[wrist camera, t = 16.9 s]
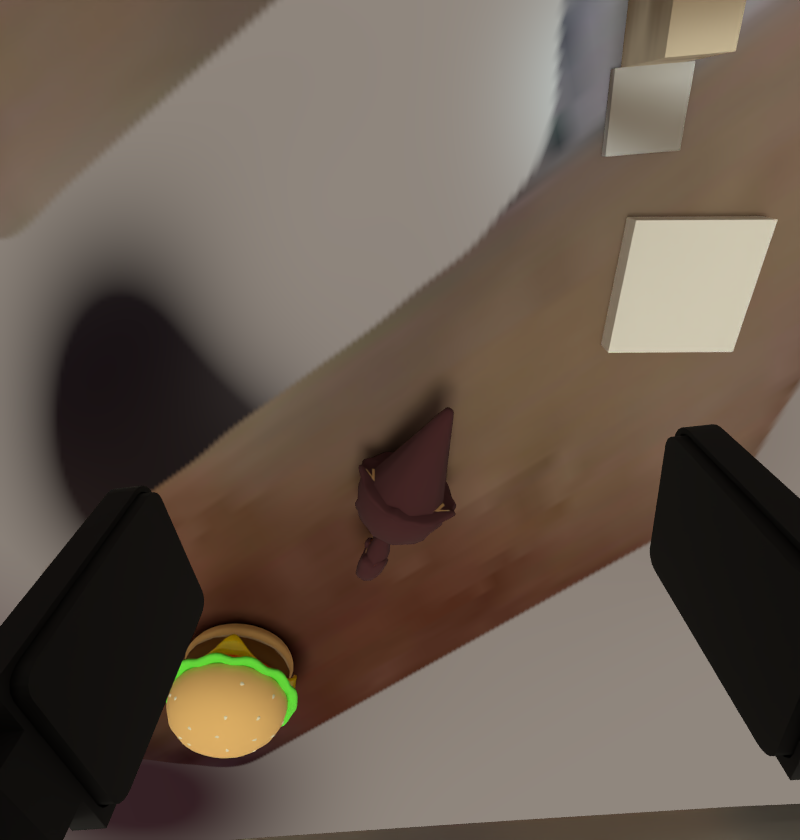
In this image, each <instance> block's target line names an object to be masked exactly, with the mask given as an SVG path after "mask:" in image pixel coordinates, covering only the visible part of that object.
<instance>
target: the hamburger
mask: <svg viewBox="0 0 800 840" xmlns="http://www.w3.org/2000/svg"><path fill="white" fill-rule="evenodd" d="M292 673H293V659H292V655H291V653H290V651H289V649H288V647H287V646H286V644H285V643H284V642H283V641H282V640H281V639H280V638H279V637H277V636H276V635H274V634H273V633H271V632H270V631H267V630H265V629H263V628H260V627H256V626H253V625H247V624H237V623H235V624H224V625H219V626H215V627H212V628H210V629H208V630H206V631H204V632H202V633H201V634H200V635H198V636H197V637H196V638H195V639H194V640H193V641H192V642H191V643H190V645H189V647H188V649H187V651H186V654H185V660H183V661H182V663H181V666H180V668H179V670H178V673H177V675H176V678H175V680H174V683H173V685H172V688H171V690H170V693H169V695H168V698H167V700H166V703H167V705H166V708H167V715H168V722H169V725H170V728H171V730H172V731H173V732H174V733H175V735H176V736H177V737H178V738H179V740H180V741H181V742H182V743H183V744H184V745H185V746H186V747H188V748H189V749H191V750H193V751H195V752H197V753H199V754H202V755H206V756H210V757H216V758H234V757H240V756H244V755H246V754H249V753H251V752H255V751H256V750H257V749H258V748H260V747H262V746H264V745H265V744H267V743H268V742H269V741H270V740H271V739H272V738H273V737H274V735H275V734H276V733H277V731H278V730H279V728H280V727H281V726H284V725H285V724H286V723H287V721H288V720H289V718H290V717H291V715H292V714H293V713H294V711H295V710H296V708H297V691H296V689H295V686H296V680H297V675H293V678H291V676H292Z"/></svg>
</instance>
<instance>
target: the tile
mask: <svg viewBox="0 0 800 840" xmlns="http://www.w3.org/2000/svg"><path fill="white" fill-rule="evenodd" d="M776 223H777V219H773V218H769V217H765V216H680V217H627V220H626V225H625V230H624V234H623V239H622V244H621V249H620V254H619V259H618V264H617V269H616V274H615V278H614V283H613V288H612V293H611V298H610V303H609V308H608V313H607V317H606V322H605V327H604V332H603V337H602V342H601V345H602V346H603V348H604V349H605V350H606V351H607V352H608V353H625V352H733V349H734V346H735V344H736V341H737V338H738V335H739V332H740V329H741V326H742V323H743V320H744V317H745V314H746V311H747V308H748V305H749V302H750V299H751V297H752V294H753V291H754V288H755V285H756V282H757V279H758V276H759V273H760V270H761V267H762V264H763V261H764V258H765V255H766V252H767V250H768V247H769V244H770V241H771V238H772V235H773V232H774V229H775V226H776Z"/></svg>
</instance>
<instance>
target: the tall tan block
mask: <svg viewBox="0 0 800 840" xmlns="http://www.w3.org/2000/svg"><path fill="white" fill-rule="evenodd" d="M745 3H746V0H629V2H628V11H627V19H626V28H625V36H624V45H623V54H622V62H621V68H614V69H611V74H610V83H609V92H608V101H607V111H606V120H605V129H604V138H603V147H602V156H605V157H607V156H619V155H631V154H643V153H655V152H666V151H678V150H680V147H681V141H682V135H683V129H684V124H685V118H686V112H687V107H688V101H689V95H690V90H691V84H692V78H693V73H694V67H695V61H692V60H697V59H701V58H706V57H711V56H716V55H720V54H725V53H730V52H735V51H736V47H737V42H738V37H739V32H740V28H741V23H742V18H743V13H744V8H745ZM687 61H689V62H687Z"/></svg>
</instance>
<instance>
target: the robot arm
mask: <svg viewBox="0 0 800 840" xmlns="http://www.w3.org/2000/svg"><path fill="white" fill-rule="evenodd" d="M650 558H651V562H652V565H653V568H654V569H655V571H656V573H657V575H658V576H659V578H660V580H661V582H662V583H663V585H664V587H665V589H666V590H667V592H668V594H669V595H670V597H671V598H672V600H673V602H674V604H675V605H676V607H677V609H678V610H679V612H680V614H681V616H682V617H683V619H684V621H685V622H686V624H687V625H688V627H689V629H690V631H691V632H692V634H693V636H694V637H695V639H696V641H697V642H698V644H699V646H700V647H701V649H702V651H703V653H704V654H705V656H706V658H707V659H708V661H709V662H710V664H711V666H712V668H713V669H714V671H715V673H716V675H717V676H718V678H719V680H720V681H721V683H722V685H723V686H724V688H725V690H726V691H727V693H728V695H729V696H730V698H731V700H732V702H733V703H734V705H735V707H736V708H737V710H738V712H739V713H740V715H741V717H742V718H743V720H744V722H745V723H746V725H747V727H748V729H749V730H750V732H751V733H752V735H753V737H754V739H755V740H756V742H757V744H758V745H759V746H760V748H761V749H762V750H763V751H764V752H765V753H766V754H767V755H769V756H776V757H777V759H778V761H779V762H780V764H781V766H782V767H783V769H784V771H785V772H786V774H787V776H788V777H789V779H790V780H800V498H799V497H797V496H796V495H795V494H794V493H793V492H792V491H791V490H790V489H788V488H787V487H786V486H785V485H784V484H783V483H782V482H781V481H780V480H779V479H777V478H776V477H775V476H774V475H773V474H772V473H771V472H770V471H769V470H768V469H766V468H765V467H764V466H763V465H762V464H761V463H760V462H759V461H758V460H756V459H755V458H754V457H753V456H752V455H751V454H750V453H749V452H748V451H746V450H745V449H744V448H743V447H742V446H741V445H740V444H739V443H738V442H737V441H735V440H734V439H733V438H732V437H731V436H730V435H729V434H728V433H727V432H725V431H724V430H723V429H722V428H721V427H719V426H718V425H714V424H711V425H702V426H693V427H683V428H680V429H678V431H677V432H676V434H675V437H670V438H668V440H667V442H666V445H665V452H664V459H663V465H662V472H661V479H660V485H659V492H658V499H657V505H656V512H655V519H654V525H653V532H652V538H651V545H650ZM203 606H204V596H203V592H202V590H201V587H200V585H199V583H198V580H197V578H196V576H195V574H194V571H193V569H192V567H191V565H190V562H189V560H188V558H187V555H186V553H185V551H184V549H183V546H182V544H181V542H180V540H179V537H178V535H177V533H176V530H175V528H174V526H173V524H172V521H171V519H170V517H169V515H168V512H167V510H166V508H165V505H164V503H163V501H162V499H161V497H160V495H159V494H157V493H155V492H151V490H150V489H149V488H147V487H146V486H137V487H128V488H118V489H113V490H111V491H110V492H108V493H107V494H106V496H105V497H104V498H103V499H102V501H101V502H100V503H99V504H98V506H97V507H96V508H95V509H94V511H93V512H92V513H91V514H90V516H89V517H88V518H87V519H86V520H85V522H84V523H83V524H82V525H81V527H80V528H79V529H78V530H77V532H76V533H75V534H74V536H73V537H72V538H71V539H70V541H69V542H68V543H67V544H66V546H65V547H64V548H63V549H62V550H61V552H60V553H59V554H58V555H57V557H56V558H55V559H54V560H53V561H52V563H51V564H50V565H49V566H48V568H47V569H46V570H45V571H44V573H43V574H42V575H41V576H40V578H39V579H38V580H37V581H36V583H35V584H34V585H33V586H32V588H31V589H30V590H29V591H28V593H27V594H26V595H25V596H24V597H23V599H22V600H21V601H20V602H19V604H18V605H17V606H16V607H15V609H14V610H13V611H12V612H11V614H10V615H9V616H8V617H7V619H6V620H5V621H4V622H3V624H2V625H1V626H0V840H63V839H64V837H65V835H66V832H67V830H68V828H69V827H70V829H71V830H72V831H73V830H87V829H101V828H107V825H108V823H109V821H110V818H111V816H112V813H113V811H114V808H115V806H116V804H119V803H120V802H122V801H123V800H124V799H125V798H126V796H127V795H128V793H129V790H130V789H131V786H132V784H133V781H134V779H135V776H136V774H137V771H138V769H139V766H140V764H141V761H142V759H143V757H144V754H145V752H146V749H147V747H148V744H149V742H150V739H151V737H152V734H153V732H154V729H155V727H156V725H157V722H158V720H159V717H160V715H161V712H162V710H163V707H164V705H165V702H166V700H167V698H168V695H169V693H170V690H171V688H172V685H173V683H174V680H175V678H176V675H177V673H178V670H179V668H180V666H181V663H182V661H183V658H184V656H185V653H186V651H187V648H188V646H189V643H190V641H191V638H192V636H193V634H194V631H195V629H196V626H197V624H198V621H199V619H200V616H201V614H202V611H203ZM238 840H800V804H787V805H765V806H742V807H722V808H707V809H690V810H674V811H658V812H642V813H626V814H611V815H595V816H594V815H593V816H577V817H561V818H546V819H531V820H514V821H500V822H485V823H469V824H454V825H439V826H426V827H410V828H395V829H380V830H366V831H352V832H337V833H324V834H307V835H293V836H278V837H265V838H253V839H252V838H251V839H238Z"/></svg>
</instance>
